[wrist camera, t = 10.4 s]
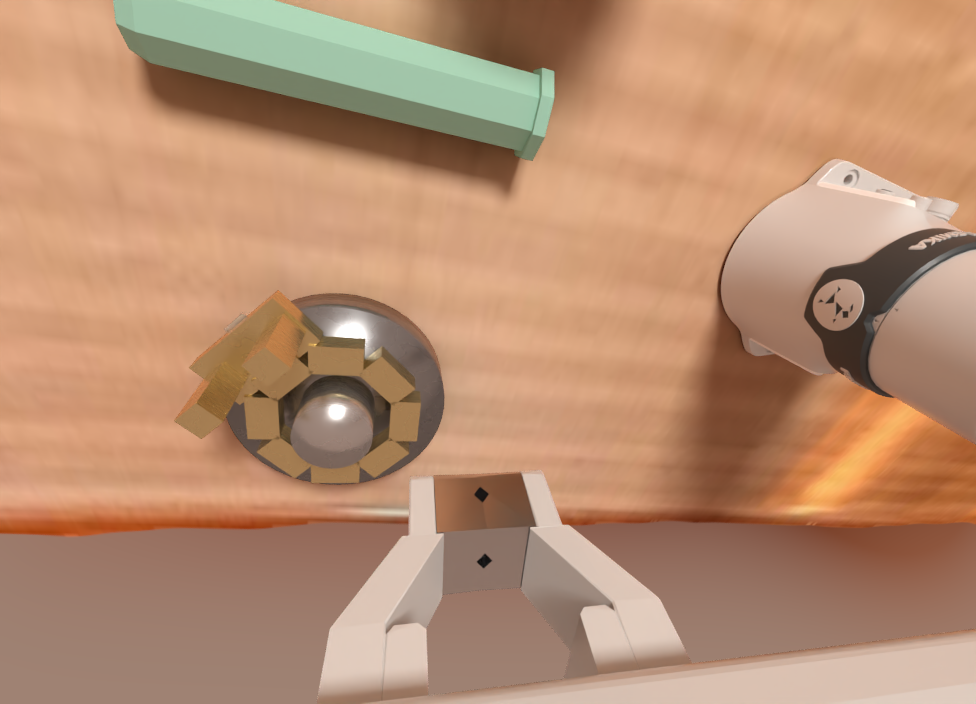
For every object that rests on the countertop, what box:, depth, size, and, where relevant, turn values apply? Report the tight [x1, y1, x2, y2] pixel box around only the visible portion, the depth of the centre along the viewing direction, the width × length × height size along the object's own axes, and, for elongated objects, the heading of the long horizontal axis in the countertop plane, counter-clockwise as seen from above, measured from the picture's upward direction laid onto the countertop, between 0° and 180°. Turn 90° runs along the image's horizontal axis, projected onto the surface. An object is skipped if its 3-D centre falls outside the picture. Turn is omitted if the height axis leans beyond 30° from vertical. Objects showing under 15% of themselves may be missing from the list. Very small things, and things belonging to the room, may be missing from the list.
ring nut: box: [174, 290, 421, 483], centre depth 35 cm, size 17×13×7 cm
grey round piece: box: [224, 294, 444, 485], centre depth 38 cm, size 18×18×8 cm
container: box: [113, 0, 554, 161], centre depth 28 cm, size 6×6×25 cm
